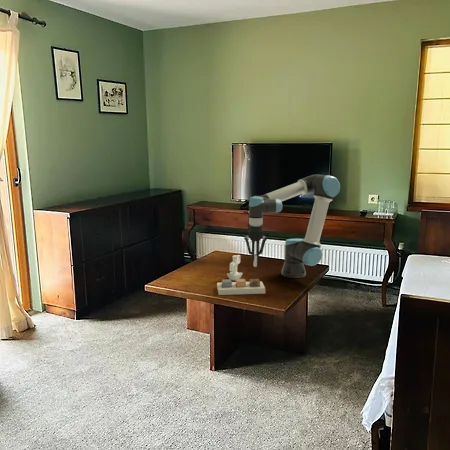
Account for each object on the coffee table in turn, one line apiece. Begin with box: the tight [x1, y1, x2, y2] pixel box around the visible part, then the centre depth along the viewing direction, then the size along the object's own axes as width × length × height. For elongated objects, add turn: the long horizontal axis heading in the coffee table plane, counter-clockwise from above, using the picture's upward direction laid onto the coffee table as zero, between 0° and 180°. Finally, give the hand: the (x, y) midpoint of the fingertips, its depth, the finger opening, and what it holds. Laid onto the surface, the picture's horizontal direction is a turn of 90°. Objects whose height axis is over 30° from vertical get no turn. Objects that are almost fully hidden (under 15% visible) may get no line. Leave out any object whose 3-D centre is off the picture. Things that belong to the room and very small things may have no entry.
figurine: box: [226, 254, 244, 282], centre depth 270 cm, size 7×9×15 cm
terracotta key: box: [235, 278, 247, 287], centre depth 251 cm, size 5×5×4 cm
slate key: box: [221, 278, 233, 288], centre depth 250 cm, size 5×5×4 cm
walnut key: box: [249, 278, 260, 287], centre depth 252 cm, size 5×5×4 cm
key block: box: [216, 280, 266, 296], centre depth 251 cm, size 26×12×3 cm, turn 95°
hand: (255, 266), depth 250 cm, fingers closed
